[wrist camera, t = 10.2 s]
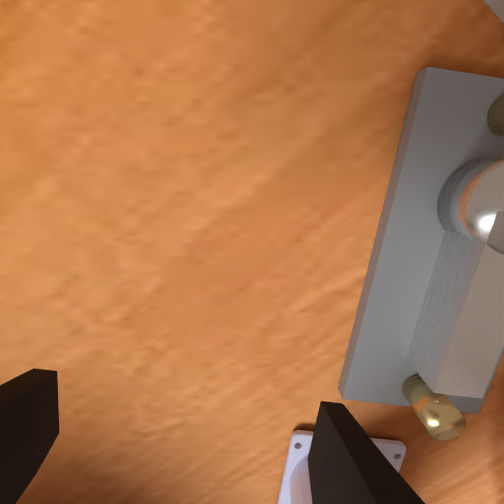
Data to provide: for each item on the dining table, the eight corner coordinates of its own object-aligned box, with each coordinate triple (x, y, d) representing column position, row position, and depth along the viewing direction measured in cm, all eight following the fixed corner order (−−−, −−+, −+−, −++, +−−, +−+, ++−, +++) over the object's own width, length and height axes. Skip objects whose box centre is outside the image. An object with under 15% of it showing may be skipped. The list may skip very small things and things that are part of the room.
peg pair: (428, 402, 20) (459, 442, 17) (397, 398, 19) (423, 438, 17) (534, 95, 15) (602, 77, 12) (494, 89, 15) (554, 70, 12)
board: (467, 403, 21) (478, 414, 20) (338, 388, 20) (342, 398, 19) (585, 99, 16) (607, 95, 15) (416, 72, 15) (427, 66, 15)
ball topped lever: (460, 364, 19) (498, 400, 16) (391, 356, 19) (416, 391, 16) (534, 163, 16) (598, 162, 13) (451, 151, 16) (497, 147, 13)
